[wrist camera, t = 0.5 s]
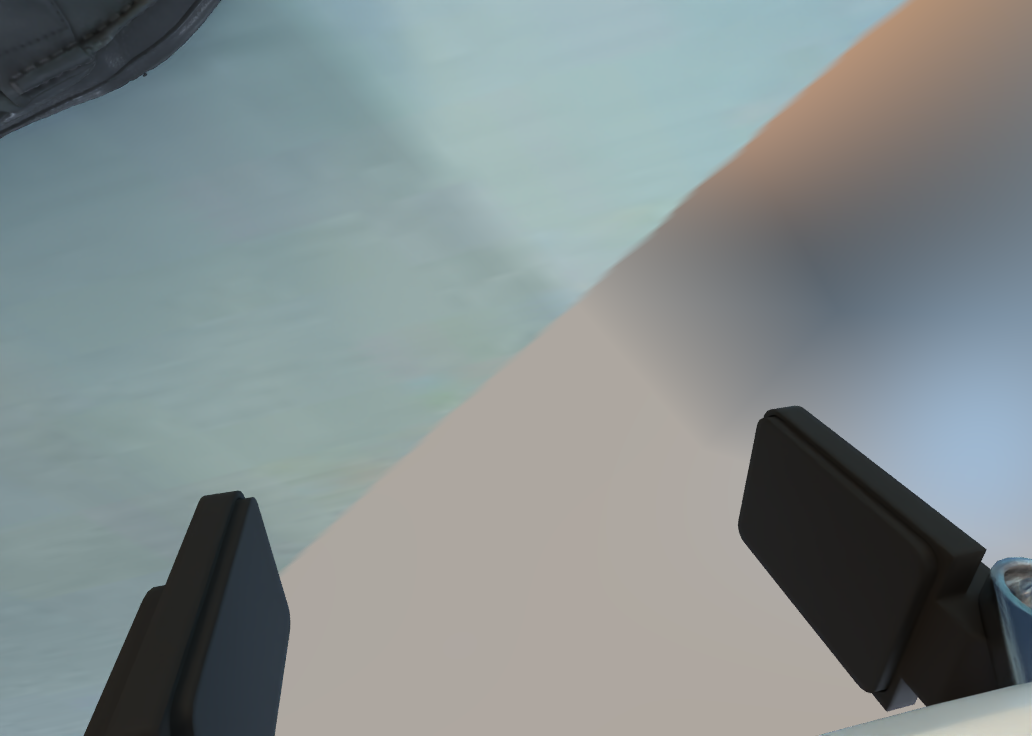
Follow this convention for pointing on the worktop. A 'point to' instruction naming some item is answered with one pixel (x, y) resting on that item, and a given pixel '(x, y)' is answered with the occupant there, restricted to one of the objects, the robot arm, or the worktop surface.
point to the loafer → (83, 49)
